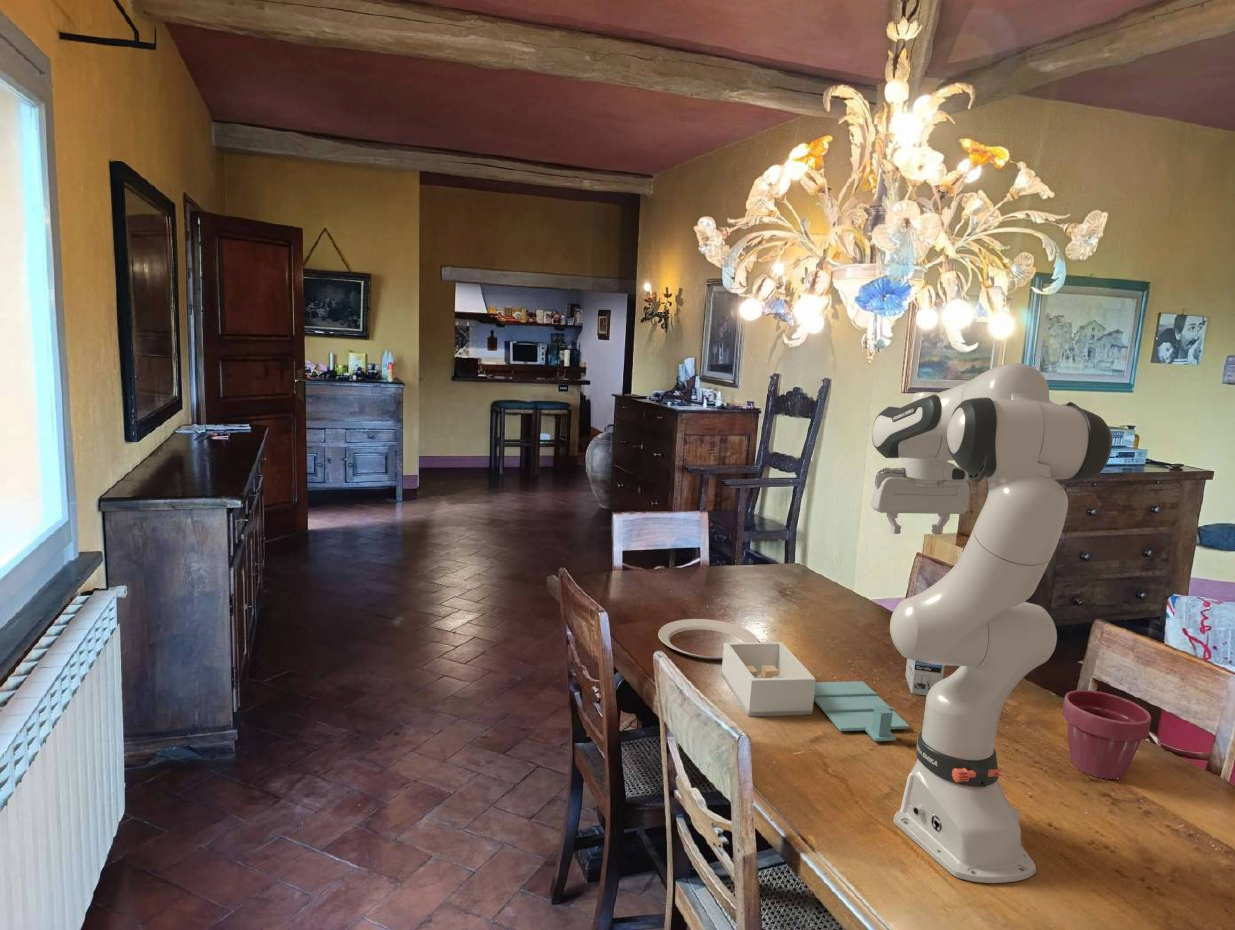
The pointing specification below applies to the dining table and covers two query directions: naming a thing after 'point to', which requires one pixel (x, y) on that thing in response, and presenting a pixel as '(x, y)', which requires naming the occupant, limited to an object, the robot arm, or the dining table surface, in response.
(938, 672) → the light bulb box
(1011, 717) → the dining table surface
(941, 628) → the robot arm
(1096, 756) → the plant pot
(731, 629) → the beige flat ring
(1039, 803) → the dining table surface
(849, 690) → the lid
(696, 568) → the dining table surface
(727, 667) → the tub
